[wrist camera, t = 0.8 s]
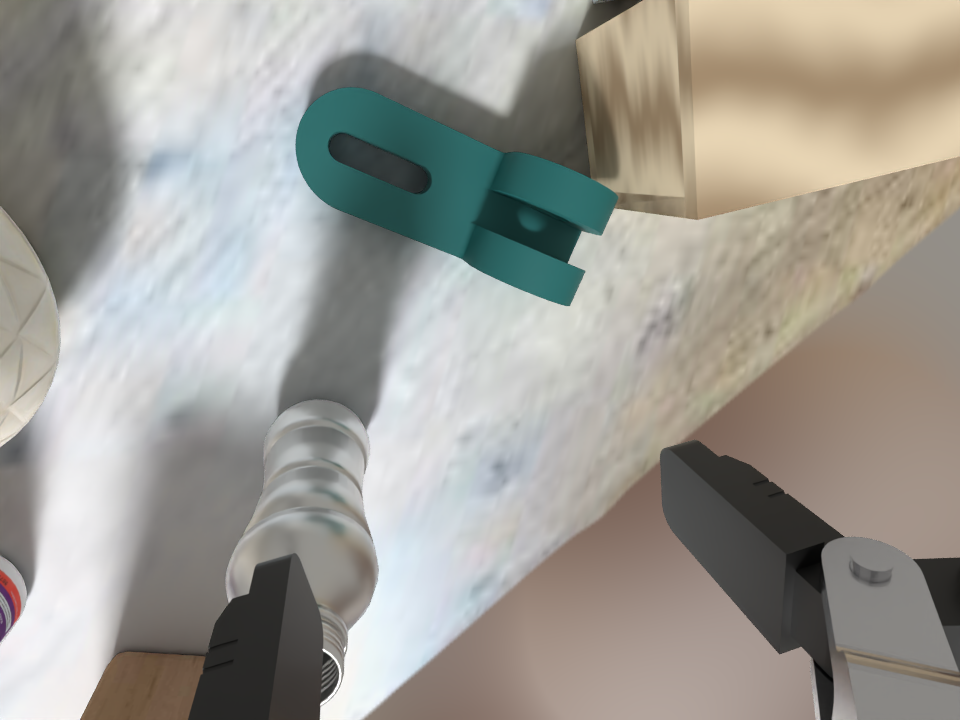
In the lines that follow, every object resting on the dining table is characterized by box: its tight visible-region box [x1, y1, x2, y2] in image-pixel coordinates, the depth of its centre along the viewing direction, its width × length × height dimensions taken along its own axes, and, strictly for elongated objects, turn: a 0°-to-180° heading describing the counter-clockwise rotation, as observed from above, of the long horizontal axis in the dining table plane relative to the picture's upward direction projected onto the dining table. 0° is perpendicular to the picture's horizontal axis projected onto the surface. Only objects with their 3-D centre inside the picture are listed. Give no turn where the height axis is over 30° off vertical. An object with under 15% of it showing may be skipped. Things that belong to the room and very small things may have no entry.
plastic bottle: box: [226, 399, 379, 707], centre depth 28 cm, size 6×7×20 cm
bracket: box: [296, 87, 619, 306], centre depth 31 cm, size 18×7×8 cm, turn 67°
